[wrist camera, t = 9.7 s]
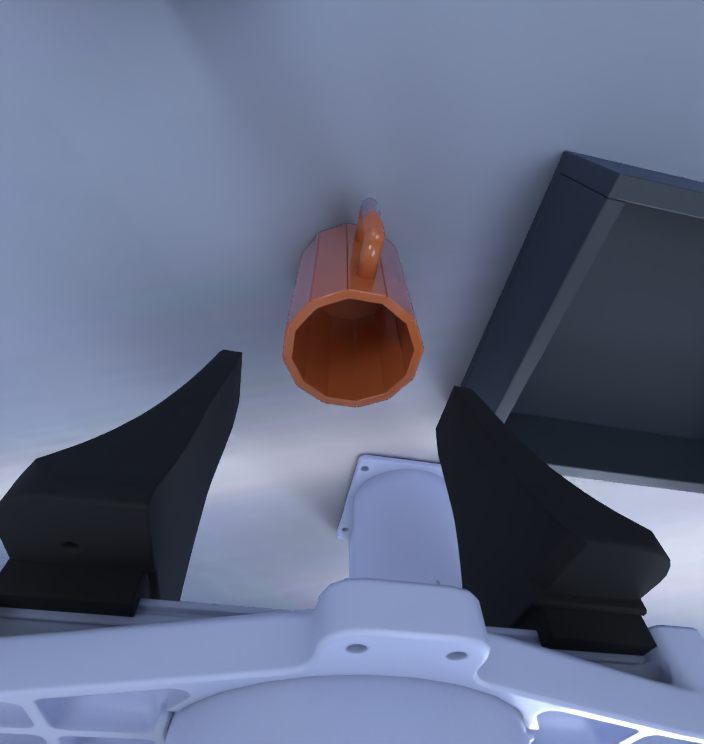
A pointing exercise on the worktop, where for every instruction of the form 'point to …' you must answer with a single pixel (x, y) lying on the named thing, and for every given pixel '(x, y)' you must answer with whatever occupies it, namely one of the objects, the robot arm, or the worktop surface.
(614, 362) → the bin
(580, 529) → the robot arm
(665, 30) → the worktop surface
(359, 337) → the cup
